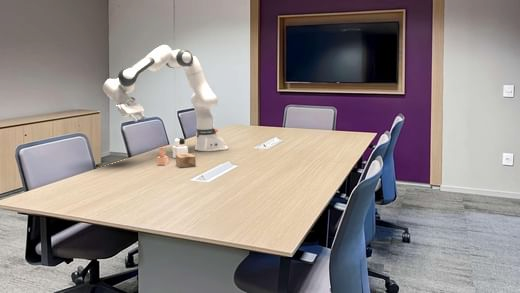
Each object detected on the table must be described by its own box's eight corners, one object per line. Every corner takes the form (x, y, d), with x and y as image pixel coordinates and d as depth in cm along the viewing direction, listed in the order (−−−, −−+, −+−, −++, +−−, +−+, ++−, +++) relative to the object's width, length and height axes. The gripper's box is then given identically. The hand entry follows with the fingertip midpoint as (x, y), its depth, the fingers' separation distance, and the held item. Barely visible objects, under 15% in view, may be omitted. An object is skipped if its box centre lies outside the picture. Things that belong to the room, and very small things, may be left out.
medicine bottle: (182, 156, 290) (181, 137, 287) (188, 157, 284) (187, 138, 282) (172, 157, 285) (171, 138, 283) (178, 159, 280) (177, 139, 277)
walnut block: (191, 163, 268) (190, 153, 267) (195, 166, 260) (195, 156, 259) (176, 165, 264) (175, 154, 263) (180, 168, 256) (179, 157, 255)
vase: (160, 163, 268) (159, 146, 266) (168, 163, 267) (167, 146, 265) (157, 165, 264) (156, 148, 262) (164, 165, 263) (164, 148, 261)
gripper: (118, 100, 253) (135, 118, 253) (136, 97, 273) (151, 114, 272) (111, 108, 255) (128, 125, 254) (129, 105, 274) (145, 121, 274)
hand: (140, 119), depth 263 cm, fingers open, 8 cm apart
